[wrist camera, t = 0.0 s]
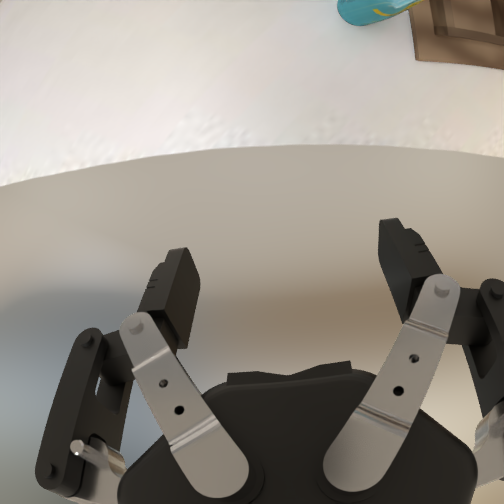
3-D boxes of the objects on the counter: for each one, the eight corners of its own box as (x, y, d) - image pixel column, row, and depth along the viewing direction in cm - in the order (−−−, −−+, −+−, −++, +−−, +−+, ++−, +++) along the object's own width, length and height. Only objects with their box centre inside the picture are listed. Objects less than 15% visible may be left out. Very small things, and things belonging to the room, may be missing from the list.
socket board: (391, -60, 20) (405, -70, 16) (495, -35, 17) (513, -37, 13) (415, 60, 30) (432, 63, 26) (510, 70, 27) (530, 76, 24)
